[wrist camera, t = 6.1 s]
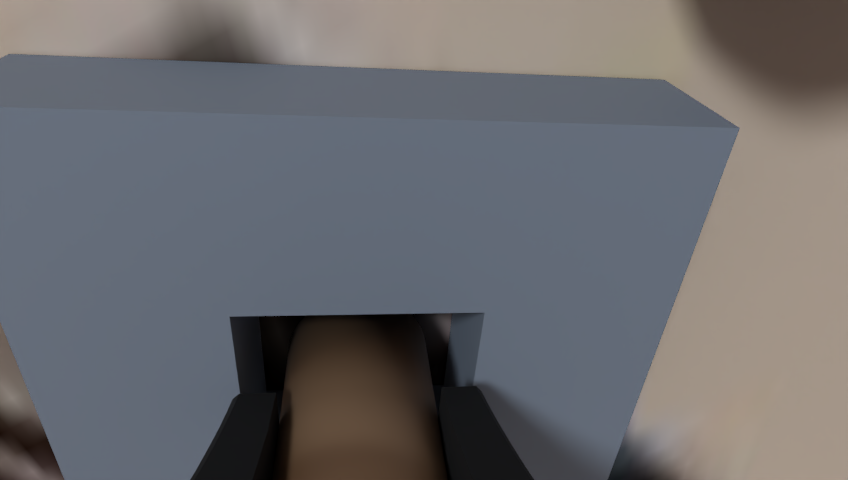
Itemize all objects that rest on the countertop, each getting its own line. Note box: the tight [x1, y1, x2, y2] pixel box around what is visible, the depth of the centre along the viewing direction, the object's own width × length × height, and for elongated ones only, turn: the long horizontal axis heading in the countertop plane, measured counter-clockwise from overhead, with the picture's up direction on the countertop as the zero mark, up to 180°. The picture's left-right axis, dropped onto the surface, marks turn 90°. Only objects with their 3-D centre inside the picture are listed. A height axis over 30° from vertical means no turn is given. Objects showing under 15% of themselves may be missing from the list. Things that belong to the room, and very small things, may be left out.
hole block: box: [0, 54, 739, 480], centre depth 12 cm, size 11×11×2 cm
